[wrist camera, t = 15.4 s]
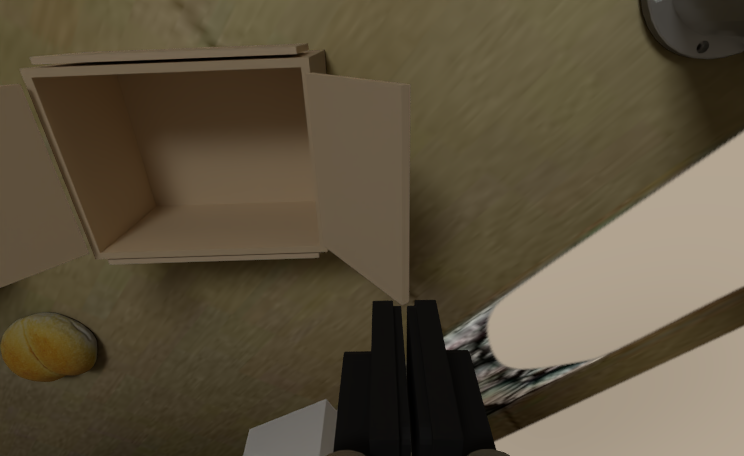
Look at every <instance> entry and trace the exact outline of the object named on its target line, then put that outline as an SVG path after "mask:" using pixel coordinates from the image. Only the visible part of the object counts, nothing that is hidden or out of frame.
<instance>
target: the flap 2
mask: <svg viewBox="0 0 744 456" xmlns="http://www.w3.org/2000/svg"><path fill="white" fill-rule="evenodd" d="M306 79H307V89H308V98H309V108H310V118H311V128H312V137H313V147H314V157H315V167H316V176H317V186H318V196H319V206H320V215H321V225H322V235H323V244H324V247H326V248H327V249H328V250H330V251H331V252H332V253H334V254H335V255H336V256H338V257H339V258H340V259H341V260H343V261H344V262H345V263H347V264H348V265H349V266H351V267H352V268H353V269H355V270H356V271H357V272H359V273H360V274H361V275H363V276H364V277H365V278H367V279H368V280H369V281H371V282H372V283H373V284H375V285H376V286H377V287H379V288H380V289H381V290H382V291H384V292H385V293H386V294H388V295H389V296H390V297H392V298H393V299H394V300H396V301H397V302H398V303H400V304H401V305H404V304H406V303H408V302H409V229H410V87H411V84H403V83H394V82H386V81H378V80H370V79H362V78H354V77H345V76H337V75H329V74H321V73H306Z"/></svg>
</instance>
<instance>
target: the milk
mask: <svg viewBox="0 0 744 456" xmlns="http://www.w3.org/2000/svg"><path fill="white" fill-rule="evenodd" d="M336 421H337V411H336V410H335V409H334V407H333V406H332V405H331V404H330V403H329V401H328V400H327V399H325V400H322V401H320V402H317V403H315V404H312V405H310V406H307V407H305V408H302V409H300V410H297V411H295V412H292V413H290V414H287V415H285V416H282V417H280V418H277V419H275V420H272V421H270V422H267V423H265V424H262V425H260V426H257V427H255V428H252V429H250V430H249V434H248V438H247V442H246V446H245V451H244V455H243V456H327V455H328V454H330V453H333V448H334V439H335V430H336Z"/></svg>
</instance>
